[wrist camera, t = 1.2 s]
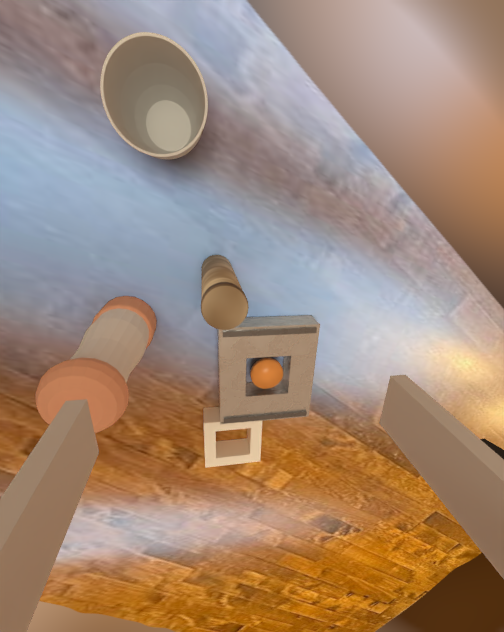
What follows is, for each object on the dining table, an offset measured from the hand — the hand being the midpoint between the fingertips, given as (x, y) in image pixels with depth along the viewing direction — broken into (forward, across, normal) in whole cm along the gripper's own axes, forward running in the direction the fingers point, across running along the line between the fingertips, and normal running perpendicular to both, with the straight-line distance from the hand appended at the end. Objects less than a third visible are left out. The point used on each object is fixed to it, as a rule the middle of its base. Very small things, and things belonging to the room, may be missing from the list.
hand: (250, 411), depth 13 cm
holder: (+28, +2, -27) cm, 39 cm away
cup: (+29, -5, +16) cm, 33 cm away
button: (+26, +7, -15) cm, 31 cm away
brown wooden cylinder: (+28, 0, 0) cm, 28 cm away
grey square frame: (+28, +7, -15) cm, 33 cm away
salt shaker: (+29, -12, -7) cm, 32 cm away
